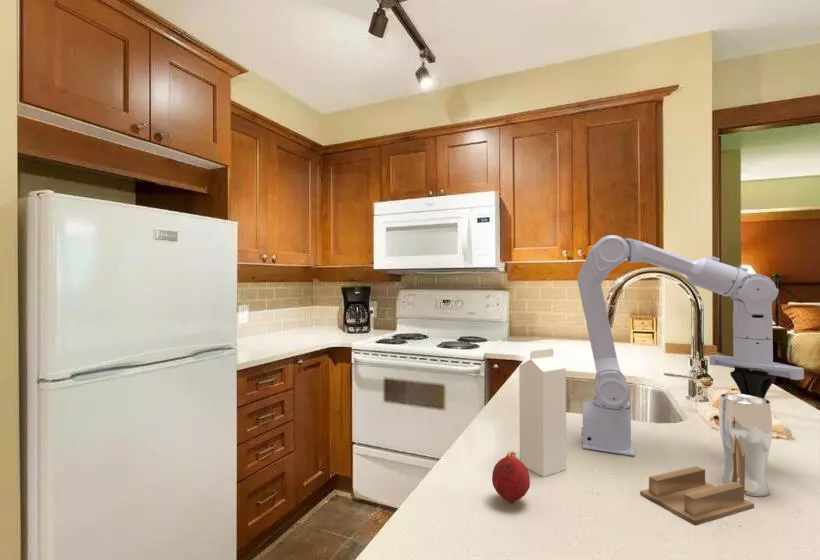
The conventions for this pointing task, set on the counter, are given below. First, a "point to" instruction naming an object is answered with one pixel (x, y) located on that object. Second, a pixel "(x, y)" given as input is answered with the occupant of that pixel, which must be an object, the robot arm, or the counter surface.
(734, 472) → the beer glass
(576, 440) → the counter surface
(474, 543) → the counter surface
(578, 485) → the counter surface
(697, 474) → the cradle
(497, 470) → the red oval fruit
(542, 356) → the milk
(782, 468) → the counter surface
